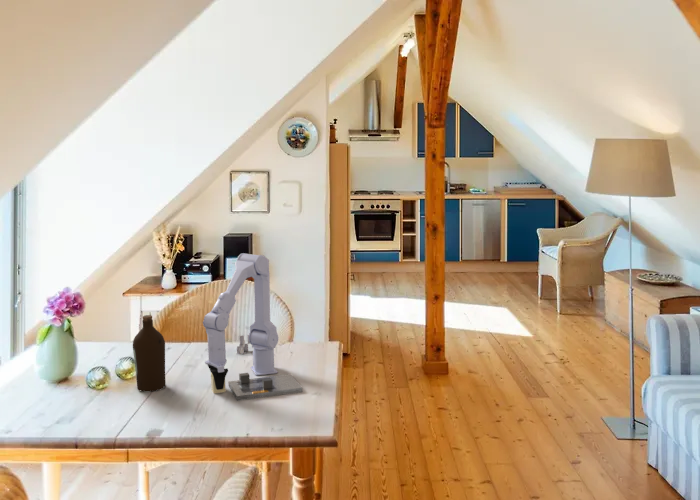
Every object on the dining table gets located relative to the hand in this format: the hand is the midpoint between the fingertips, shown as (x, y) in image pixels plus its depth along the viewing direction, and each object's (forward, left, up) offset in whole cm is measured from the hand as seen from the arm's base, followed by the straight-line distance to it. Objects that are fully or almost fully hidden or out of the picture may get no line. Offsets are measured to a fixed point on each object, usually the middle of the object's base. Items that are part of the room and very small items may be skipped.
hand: (218, 386), depth 253 cm
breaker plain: (-1, +9, 0) cm, 9 cm away
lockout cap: (0, 0, -1) cm, 1 cm away
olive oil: (-12, -21, -2) cm, 24 cm away
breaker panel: (+4, +15, -1) cm, 16 cm away
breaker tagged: (+7, +15, 0) cm, 17 cm away
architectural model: (-37, +20, -2) cm, 42 cm away
